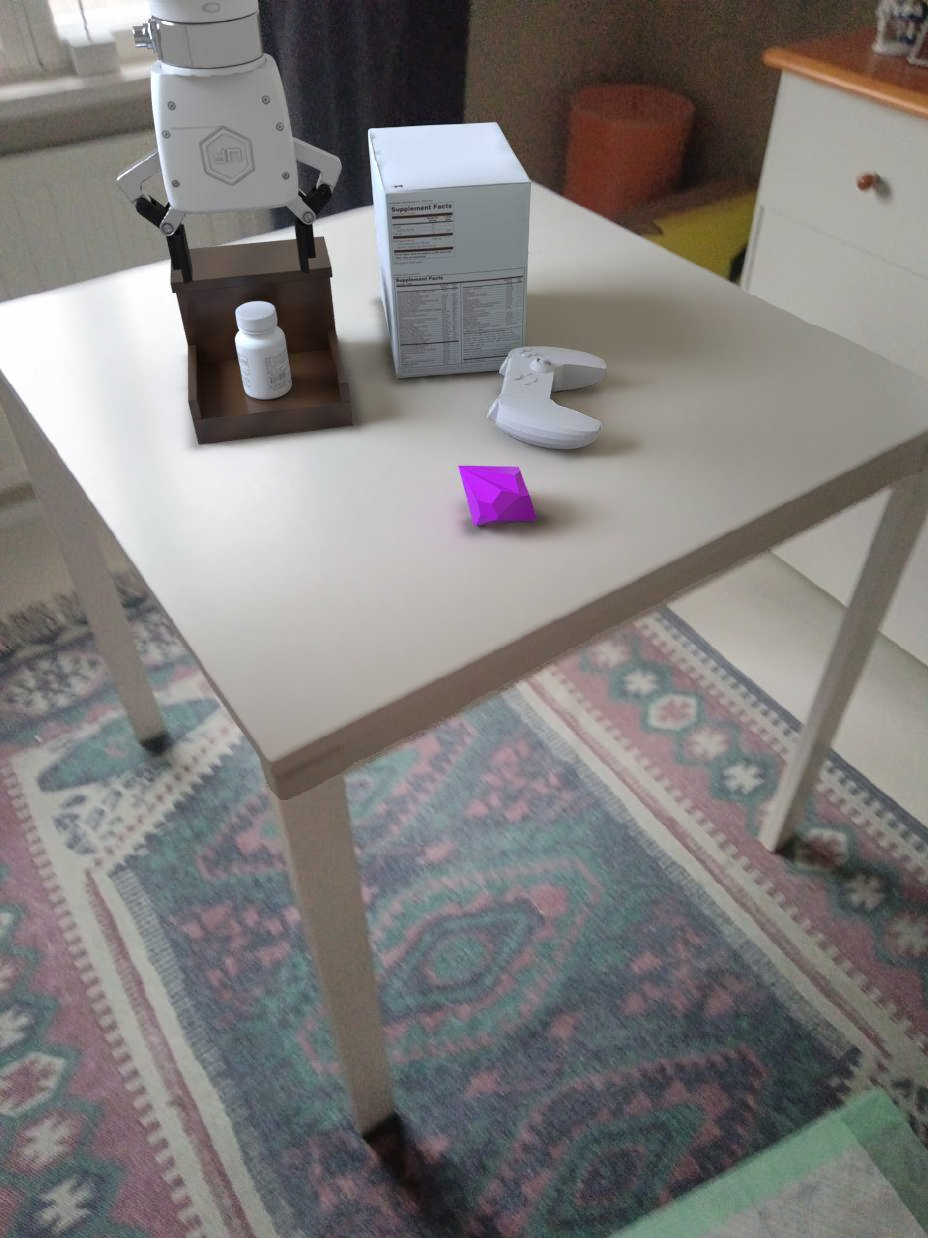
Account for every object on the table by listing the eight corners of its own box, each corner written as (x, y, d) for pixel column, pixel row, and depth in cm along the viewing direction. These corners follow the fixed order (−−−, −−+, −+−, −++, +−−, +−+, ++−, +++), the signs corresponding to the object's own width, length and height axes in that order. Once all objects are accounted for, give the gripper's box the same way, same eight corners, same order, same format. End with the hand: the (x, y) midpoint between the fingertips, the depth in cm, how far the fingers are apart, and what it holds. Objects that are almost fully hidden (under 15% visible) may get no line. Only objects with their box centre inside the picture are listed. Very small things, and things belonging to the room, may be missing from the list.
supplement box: (528, 370, 97) (536, 182, 84) (394, 381, 96) (382, 192, 83) (497, 291, 109) (499, 117, 97) (378, 301, 108) (365, 125, 95)
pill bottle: (297, 377, 92) (285, 298, 86) (286, 402, 88) (274, 322, 83) (251, 375, 92) (237, 296, 87) (239, 400, 89) (223, 320, 83)
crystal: (486, 543, 78) (486, 496, 75) (453, 507, 81) (452, 461, 78) (541, 523, 80) (543, 476, 76) (506, 488, 83) (507, 442, 80)
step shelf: (196, 444, 88) (169, 331, 81) (194, 356, 100) (170, 250, 92) (354, 425, 90) (343, 313, 83) (335, 340, 102) (323, 235, 94)
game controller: (605, 431, 83) (491, 401, 83) (590, 472, 86) (480, 443, 86) (612, 347, 94) (510, 321, 93) (598, 387, 97) (500, 361, 96)
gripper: (81, 61, 67) (139, 300, 78) (335, 47, 69) (354, 281, 81) (89, 34, 72) (142, 262, 84) (324, 22, 74) (344, 244, 86)
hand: (246, 271), depth 82 cm, fingers open, 9 cm apart
